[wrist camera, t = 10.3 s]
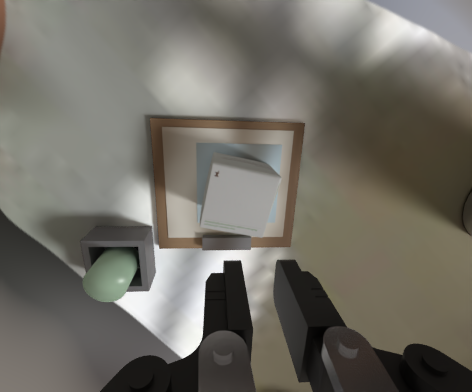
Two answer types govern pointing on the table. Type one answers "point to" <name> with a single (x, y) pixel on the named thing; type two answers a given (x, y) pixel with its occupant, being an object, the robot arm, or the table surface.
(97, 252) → the button housing
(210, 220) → the small box
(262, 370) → the table surface
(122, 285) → the button
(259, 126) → the picture frame
